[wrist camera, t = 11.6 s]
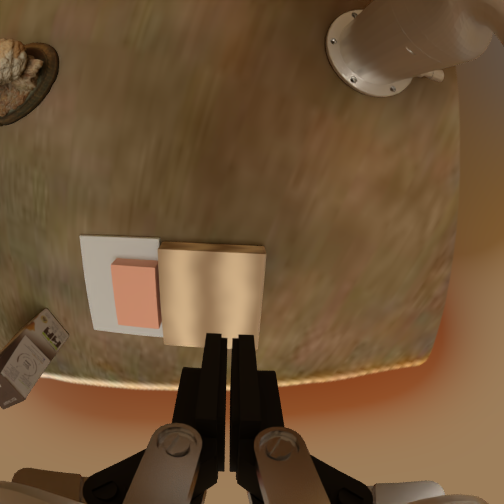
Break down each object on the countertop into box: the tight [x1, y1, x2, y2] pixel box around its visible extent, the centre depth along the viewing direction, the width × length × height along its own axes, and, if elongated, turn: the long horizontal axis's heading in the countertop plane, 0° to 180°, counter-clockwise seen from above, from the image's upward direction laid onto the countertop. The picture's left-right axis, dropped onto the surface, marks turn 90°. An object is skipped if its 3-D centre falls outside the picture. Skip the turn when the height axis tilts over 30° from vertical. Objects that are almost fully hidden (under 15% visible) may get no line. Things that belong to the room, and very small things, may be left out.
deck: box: [158, 241, 266, 350], centre depth 41 cm, size 13×14×3 cm
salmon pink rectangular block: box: [111, 258, 162, 329], centre depth 40 cm, size 6×9×2 cm, turn 176°
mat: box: [80, 235, 163, 337], centre depth 41 cm, size 12×15×1 cm
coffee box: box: [0, 308, 69, 409], centre depth 36 cm, size 9×6×16 cm
